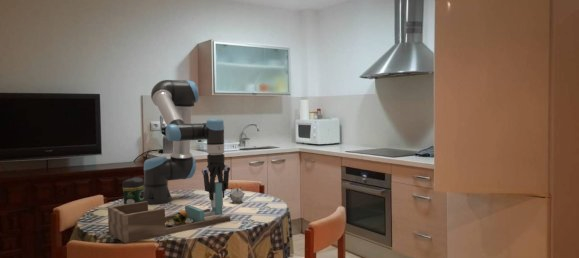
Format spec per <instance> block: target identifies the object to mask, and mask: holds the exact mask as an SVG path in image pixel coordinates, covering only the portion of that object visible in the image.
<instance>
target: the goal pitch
mask: <svg viewBox="0 0 579 258" xmlns="http://www.w3.org/2000/svg"><path fill="white" fill-rule="evenodd" d="M203 210H204V212H209V211H211V209H209V208H207V209H203ZM175 215H176V214H175ZM175 215H173V214H172V215H167V216H166V209H165V208H164V207H163V208H157V209H150V210H149V204H148V202H147V201H144V202H138V203H131V204H124V203H123V204H118V205H112V206H107V220H108V222H107V224H108V233H110V234H111V235H112V236H113V237H115V238H116V239H118V240H119V241H121V242H122V243H123V244H126V243H130V242H131V243H132V242H137V241H140V240H142V241H143V240H147V239H150V238H157V237H161V236H166V235H171V234H175V233H179V232H185V231H188V230H195V229H199V227H200V228H203V227H208V226H213V225H218V224H223V223H227V222H231V216H230V215H227V216H222V217H216V218H211V219H206V220H205V221H200V222H194V223H190V224H185V225H180V226H175V227H174V226H169V227H166V223H165V222H166V221H167V220H170V219H173V218H174V217H175Z"/></svg>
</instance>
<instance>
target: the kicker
mask: <svg viewBox="0 0 579 258" xmlns="http://www.w3.org/2000/svg"><path fill="white" fill-rule="evenodd" d="M214 193H215V200H216V207H215V208H214V207H211V210H210V211H209V212H204V210H205V209H201V208H198V207H196V206H194V205H190V204H186V205H184V211H185V212H186V213H187V218H191V219H193V220H194V223H195V222H200V221H205V218H207V217H213V216H220V215H223V206H222V183H219V182H218V181H215V184H214Z"/></svg>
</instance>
